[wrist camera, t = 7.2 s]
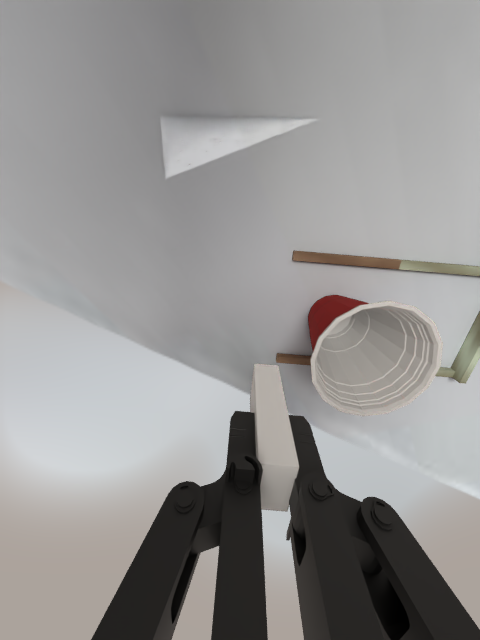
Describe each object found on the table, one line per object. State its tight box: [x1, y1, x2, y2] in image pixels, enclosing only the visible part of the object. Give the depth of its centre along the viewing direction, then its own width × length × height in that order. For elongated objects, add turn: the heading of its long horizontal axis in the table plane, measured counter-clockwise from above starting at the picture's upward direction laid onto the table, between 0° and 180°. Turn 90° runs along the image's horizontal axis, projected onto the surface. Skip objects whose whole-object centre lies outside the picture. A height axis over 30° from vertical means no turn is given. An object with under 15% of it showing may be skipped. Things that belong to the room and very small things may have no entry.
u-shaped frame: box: [276, 251, 480, 383], centre depth 29 cm, size 15×25×2 cm, turn 86°
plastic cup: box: [308, 295, 443, 416], centre depth 25 cm, size 11×11×12 cm
